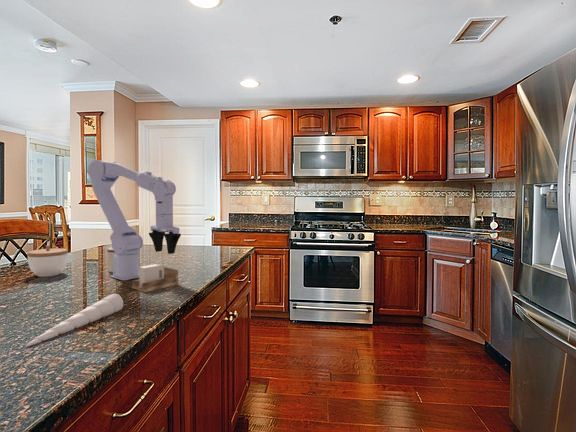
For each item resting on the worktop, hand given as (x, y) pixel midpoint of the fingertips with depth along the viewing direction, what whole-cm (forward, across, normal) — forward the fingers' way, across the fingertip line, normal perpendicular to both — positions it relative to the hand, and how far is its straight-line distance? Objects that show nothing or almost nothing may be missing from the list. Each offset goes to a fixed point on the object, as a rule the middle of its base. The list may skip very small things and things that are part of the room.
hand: (164, 252), depth 121 cm
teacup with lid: (+10, -29, -1) cm, 31 cm away
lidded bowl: (+10, -42, -22) cm, 48 cm away
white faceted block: (+9, +5, -8) cm, 13 cm away
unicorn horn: (+10, +22, -37) cm, 44 cm away
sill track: (+10, +5, -7) cm, 13 cm away
